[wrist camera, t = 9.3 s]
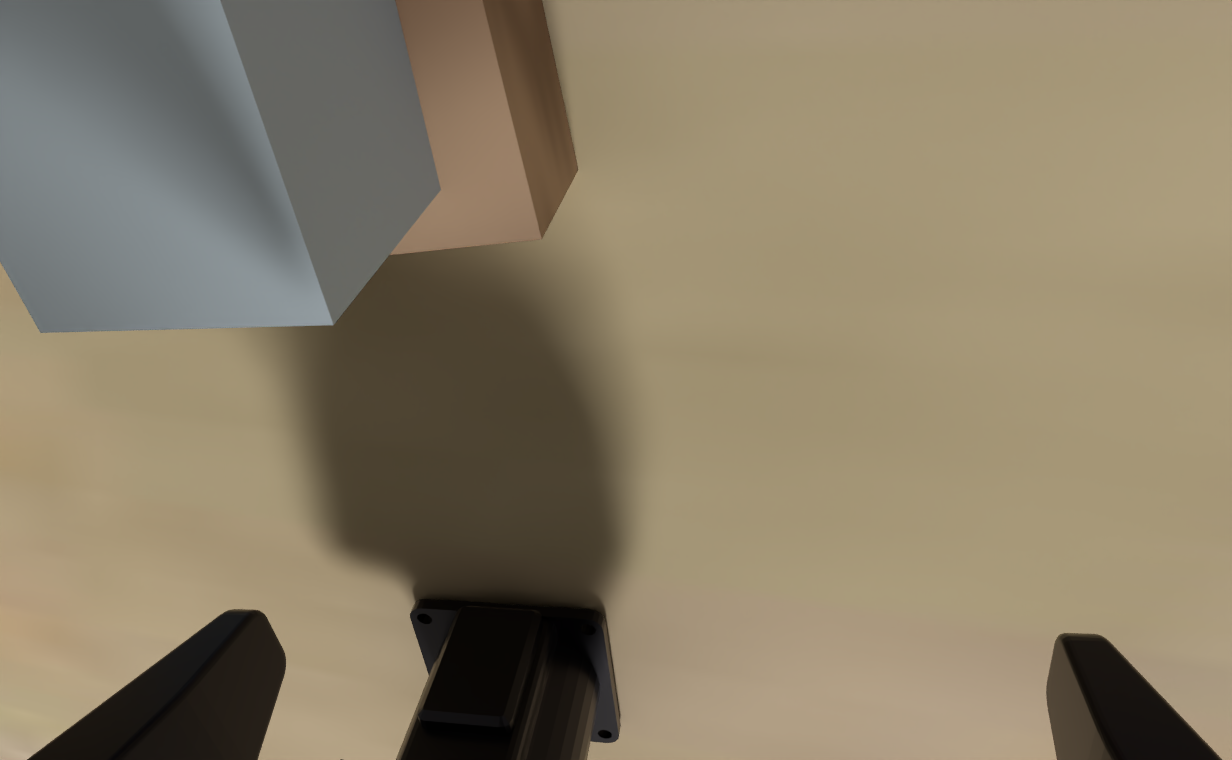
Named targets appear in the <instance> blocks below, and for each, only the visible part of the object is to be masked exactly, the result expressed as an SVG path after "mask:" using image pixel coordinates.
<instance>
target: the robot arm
mask: <svg viewBox="0 0 1232 760" xmlns="http://www.w3.org/2000/svg"><path fill="white" fill-rule="evenodd" d="M410 618H411V621H412V624H413V628H414V631H415V634H416V637H417V640H418V643H419V646H420V649H421V652H422V655H423V658H424V661H425V664H426V668H427V671H428V674H429V677H428V680H427V682H426V685H425V688H424V690H423V693H422V695H421V698H420V700H419V703H418V705H417V708H416V710H415V713H414V715H413V718H412V720H411V723H410V726H409V728H408V731H407V733H406V736H405V738H404V741H403V743H402V746H401V748H400V751H399V753H398V756H397V758H396V760H587V756H588V751H589V746H590V741H592V742H603V743H612V742H615V741H616V740H617V739H618V737H619V732H620V726H621V725H620V718H619V711H618V704H617V697H616V690H615V683H614V676H613V669H612V663H611V656H610V649H609V642H608V635H607V628H606V621H605V619H604V617H603V616H602V615H601V614H600V613H599V612H597V611H595V610H590V609H577V608H560V607H544V606H528V605H512V604H496V603H480V602H464V601H448V600H432V599H421V600H418V601H416V603H415V604H414V607H413V609H412V611H411V613H410ZM285 669H286V657H285V653H284V650H283V648H282V646H281V644H280V642H279V640H278V638H277V637H276V635H275V633H274V631H273V629H272V627H271V625H270V623H269V621H268V619H267V617H266V616H265V614H263V613H262V612H261V611H258V610H243V609H233V610H228V611H226V612H224V613H223V614H221V615H220V616H218V617H217V618H216V619H214V620H213V621H212V622H210V623H209V624H208V625H206V626H205V627H204V628H202V629H201V630H199V631H198V632H197V633H195V634H194V635H193V636H191V637H190V638H189V639H187V640H186V641H185V642H183V643H182V644H181V645H179V646H178V647H177V648H175V649H174V650H173V651H171V652H170V653H169V654H167V655H166V656H165V657H163V658H162V659H161V660H159V661H158V662H157V663H155V664H154V665H153V666H151V667H150V668H149V669H147V670H146V671H145V672H143V673H142V674H141V675H139V676H138V677H137V678H135V679H134V680H133V681H131V682H130V683H129V684H127V685H126V686H125V687H123V688H122V689H121V690H119V691H118V692H117V693H115V694H114V695H113V696H111V697H110V698H109V699H107V700H106V701H105V702H103V703H102V704H101V705H99V706H98V707H97V708H95V709H94V710H93V711H91V712H90V713H89V714H87V715H86V716H85V717H83V718H82V719H81V720H79V721H78V722H77V723H75V724H74V725H73V726H71V727H70V728H69V729H67V730H66V731H65V732H63V733H62V734H61V735H59V736H58V737H57V738H55V739H54V740H53V741H51V742H50V743H49V744H47V745H46V746H45V747H43V748H42V749H41V750H39V751H38V752H37V753H35V754H34V755H33V756H31V757H30V758H29V759H27V760H258V756H259V753H260V750H261V747H262V744H263V741H264V738H265V734H266V731H267V728H268V725H269V722H270V719H271V715H272V712H273V709H274V706H275V703H276V700H277V697H278V693H279V690H280V687H281V684H282V681H283V678H284V674H285ZM1046 695H1047V706H1048V712H1049V718H1050V723H1051V729H1052V734H1053V740H1054V745H1055V751H1056V756H1057V760H1222V759H1221V758H1220V757H1219V756H1218V755H1217V754H1216V753H1215V752H1214V750H1213V749H1212V748H1211V747H1210V746H1209V745H1208V744H1207V743H1206V742H1205V741H1204V740H1203V739H1202V738H1201V737H1200V736H1199V735H1198V734H1197V733H1196V732H1195V731H1194V730H1193V728H1192V727H1191V726H1190V725H1189V724H1188V723H1187V722H1186V721H1185V720H1184V719H1183V718H1182V717H1181V716H1180V715H1179V714H1178V713H1177V712H1176V711H1175V710H1174V709H1173V708H1172V706H1171V705H1170V704H1169V703H1168V702H1167V701H1166V700H1165V699H1164V698H1163V697H1162V696H1161V695H1160V694H1159V693H1158V692H1157V691H1156V690H1155V689H1154V688H1153V687H1152V686H1151V685H1150V683H1149V682H1148V681H1147V680H1146V679H1145V678H1144V677H1143V676H1142V675H1141V674H1140V673H1139V672H1138V671H1137V670H1136V669H1135V668H1134V667H1133V666H1132V665H1131V664H1130V663H1129V661H1128V660H1127V659H1126V658H1125V657H1124V656H1123V655H1122V654H1121V653H1120V652H1119V651H1118V650H1117V649H1116V648H1115V647H1114V646H1113V645H1112V644H1111V643H1110V642H1109V641H1108V640H1107V639H1106V638H1104V637H1103V636H1100V635H1097V634H1078V633H1064V634H1060V635H1059V636H1058V637H1057V639H1056V641H1055V645H1054V650H1053V655H1052V660H1051V665H1050V670H1049V675H1048V680H1047V689H1046ZM341 760H342V759H341Z"/></svg>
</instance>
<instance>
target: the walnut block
mask: <svg viewBox="0 0 1232 760" xmlns="http://www.w3.org/2000/svg"><path fill="white" fill-rule="evenodd" d="M395 2H396V6H397V10H398V14H399V19H400V23H401V27H402V31H403V35H404V39H405V43H406V47H407V51H408V55H409V59H410V63H411V68H412V72H413V76H414V80H415V84H416V88H417V92H418V97H419V101H420V105H421V109H422V113H423V117H424V121H425V126H426V130H427V134H428V138H429V142H430V146H431V150H432V155H433V159H434V163H435V167H436V171H437V175H438V179H439V184H440V188H441V190H440V192H439V193H438V194H437V195H436V197H435V198H434V199H433V200H432V202H431V203H430V204H429V206H428V207H427V208H426V209H425V211H424V212H423V213H422V214H421V216H420V217H419V218H418V219H417V221H416V222H415V223H414V224H413V226H412V227H411V228H410V229H409V231H408V232H407V233H406V234H405V236H404V237H403V238H402V240H401V241H400V242H399V243H398V245H397V246H396V247H395V248H394V250H393V251H392V252H391V253H390V255H395V254H404V253H414V252H423V251H433V250H443V249H452V248H462V247H472V246H481V245H491V244H500V243H510V242H520V241H529V240H539V239H542V238H543V236H544V234H545V232H546V230H547V228H548V226H549V224H550V222H551V221H552V219H553V217H554V215H555V213H556V211H557V209H558V207H559V205H560V204H561V202H562V200H563V198H564V196H565V194H566V192H567V190H568V188H569V186H570V185H571V183H572V181H573V179H574V177H575V175H576V173H577V171H578V166H577V162H576V157H575V153H574V148H573V143H572V139H571V134H570V129H569V125H568V120H567V115H566V111H565V106H564V101H563V97H562V92H561V87H560V83H559V78H558V73H557V69H556V64H555V59H554V55H553V50H552V45H551V41H550V36H549V31H548V27H547V22H546V17H545V13H544V8H543V4H542V0H395Z"/></svg>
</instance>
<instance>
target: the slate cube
mask: <svg viewBox="0 0 1232 760" xmlns="http://www.w3.org/2000/svg"><path fill="white" fill-rule="evenodd" d="M440 190H441V188H440V184H439V179H438V175H437V171H436V167H435V163H434V159H433V155H432V150H431V146H430V142H429V138H428V134H427V130H426V126H425V121H424V117H423V113H422V109H421V105H420V101H419V97H418V92H417V88H416V84H415V80H414V76H413V72H412V68H411V63H410V59H409V55H408V51H407V47H406V43H405V39H404V35H403V31H402V27H401V23H400V19H399V14H398V10H397V6H396V2H395V0H0V262H1V264H2V266H3V267H4V269H5V271H6V273H7V274H8V276H9V278H10V280H11V281H12V283H13V285H14V287H15V288H16V290H17V292H18V294H19V296H20V297H21V299H22V301H23V303H24V304H25V306H26V308H27V310H28V311H29V313H30V315H31V317H32V318H33V320H34V322H35V324H36V325H37V327H38V329H39V331H40V333H48V332H87V331H126V330H165V329H204V328H242V327H281V326H320V325H334V324H335V323H336V321H337V320H338V319H339V318H340V316H341V315H342V314H343V313H344V311H345V310H346V309H347V308H348V306H349V305H350V304H351V303H352V301H353V300H354V299H355V297H356V296H357V295H358V294H359V292H360V291H361V290H362V289H363V287H364V286H365V285H366V284H367V282H368V281H369V280H370V279H371V277H372V276H373V275H374V274H375V272H376V271H377V270H378V269H379V267H380V266H381V265H382V263H383V262H384V261H385V260H386V258H387V257H388V256H389V255H390V253H391V252H392V251H393V250H394V248H395V247H396V246H397V245H398V243H399V242H400V241H401V240H402V238H403V237H404V236H405V234H406V233H407V232H408V231H409V229H410V228H411V227H412V226H413V224H414V223H415V222H416V221H417V219H418V218H419V217H420V216H421V214H422V213H423V212H424V211H425V209H426V208H427V207H428V206H429V204H430V203H431V202H432V200H433V199H434V198H435V197H436V195H437V194H438V193H439V192H440Z"/></svg>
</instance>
